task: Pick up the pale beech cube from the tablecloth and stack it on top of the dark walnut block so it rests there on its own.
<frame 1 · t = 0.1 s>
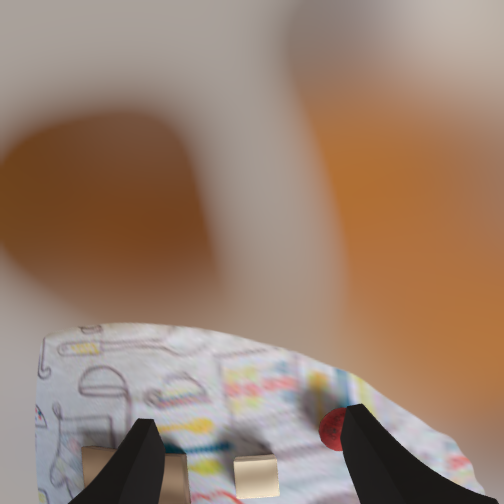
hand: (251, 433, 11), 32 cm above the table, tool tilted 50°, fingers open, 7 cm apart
pomegranate: (334, 428, 38), on the table
walnut block: (141, 495, 33), on the table
beech cube: (256, 472, 35), on the table
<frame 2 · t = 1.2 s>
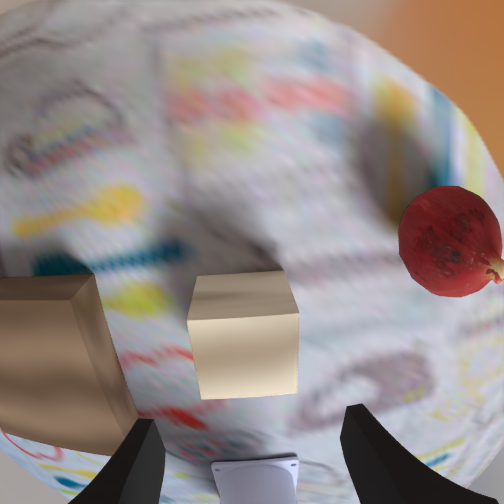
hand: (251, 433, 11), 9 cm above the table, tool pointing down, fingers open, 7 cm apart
pomegranate: (415, 221, 18), on the table
walnut block: (45, 355, 21), on the table
beech cube: (243, 310, 20), on the table
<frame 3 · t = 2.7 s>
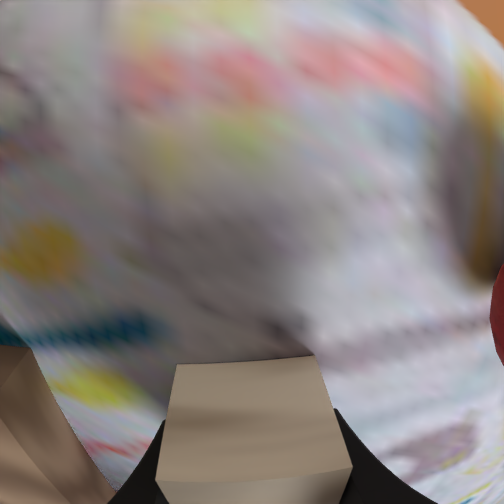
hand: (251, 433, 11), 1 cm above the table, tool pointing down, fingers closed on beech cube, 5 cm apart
pomegranate: (498, 270, 11), on the table
walnut block: (0, 424, 13), on the table
beech cube: (249, 407, 12), on the table, touching gripper
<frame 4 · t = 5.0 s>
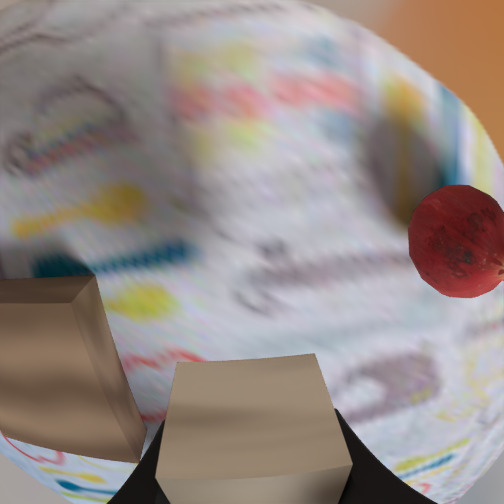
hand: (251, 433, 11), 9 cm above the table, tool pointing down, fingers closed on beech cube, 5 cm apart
pomegranate: (424, 221, 18), on the table
walnut block: (45, 358, 20), on the table
beech cube: (249, 405, 12), point 7 cm above the table, touching gripper
when the fingers open (7 cm above the table, at t = 7.2 s): beech cube drops 2 cm, resting on walnut block.
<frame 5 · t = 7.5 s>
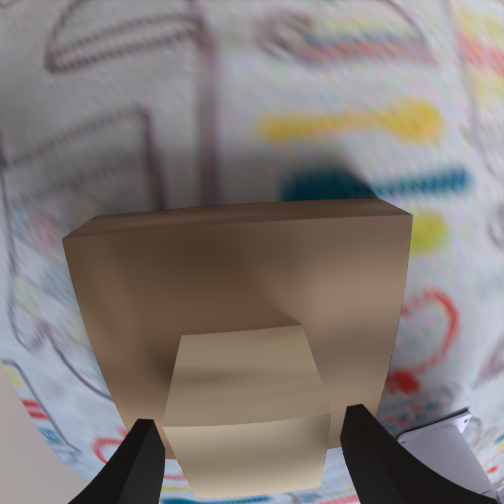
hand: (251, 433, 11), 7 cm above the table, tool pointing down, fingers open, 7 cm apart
walnut block: (244, 328, 18), on the table, touching beech cube
beech cube: (246, 375, 14), point 3 cm above the table, touching walnut block
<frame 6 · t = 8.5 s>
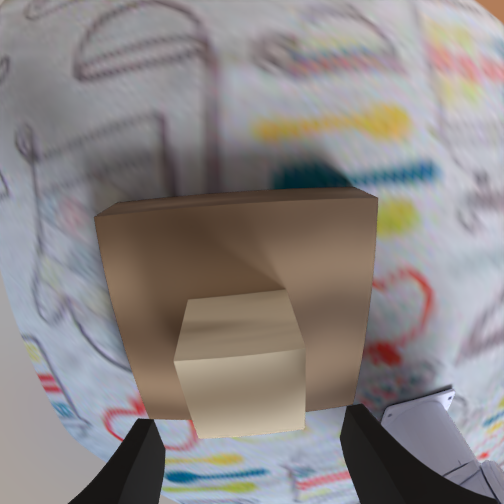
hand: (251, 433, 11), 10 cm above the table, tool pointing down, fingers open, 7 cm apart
walnut block: (242, 299, 21), on the table
beech cube: (242, 335, 17), point 3 cm above the table
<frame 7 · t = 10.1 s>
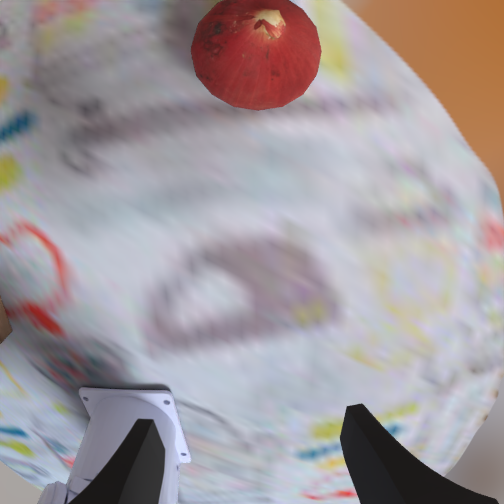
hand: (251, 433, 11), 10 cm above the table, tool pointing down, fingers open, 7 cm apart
pomegranate: (250, 69, 16), on the table
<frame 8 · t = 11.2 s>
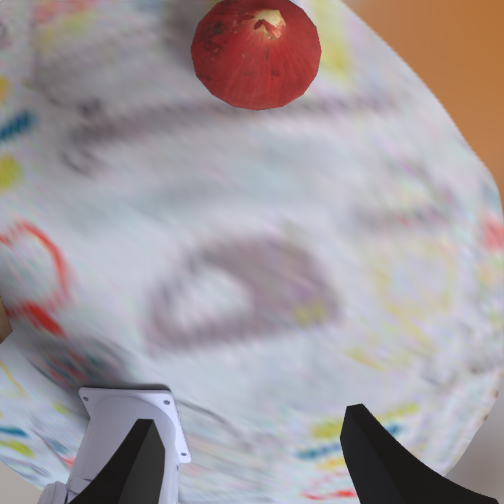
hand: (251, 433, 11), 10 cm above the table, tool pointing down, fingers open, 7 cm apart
pomegranate: (250, 69, 16), on the table
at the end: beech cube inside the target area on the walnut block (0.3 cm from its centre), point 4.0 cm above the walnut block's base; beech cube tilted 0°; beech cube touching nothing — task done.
